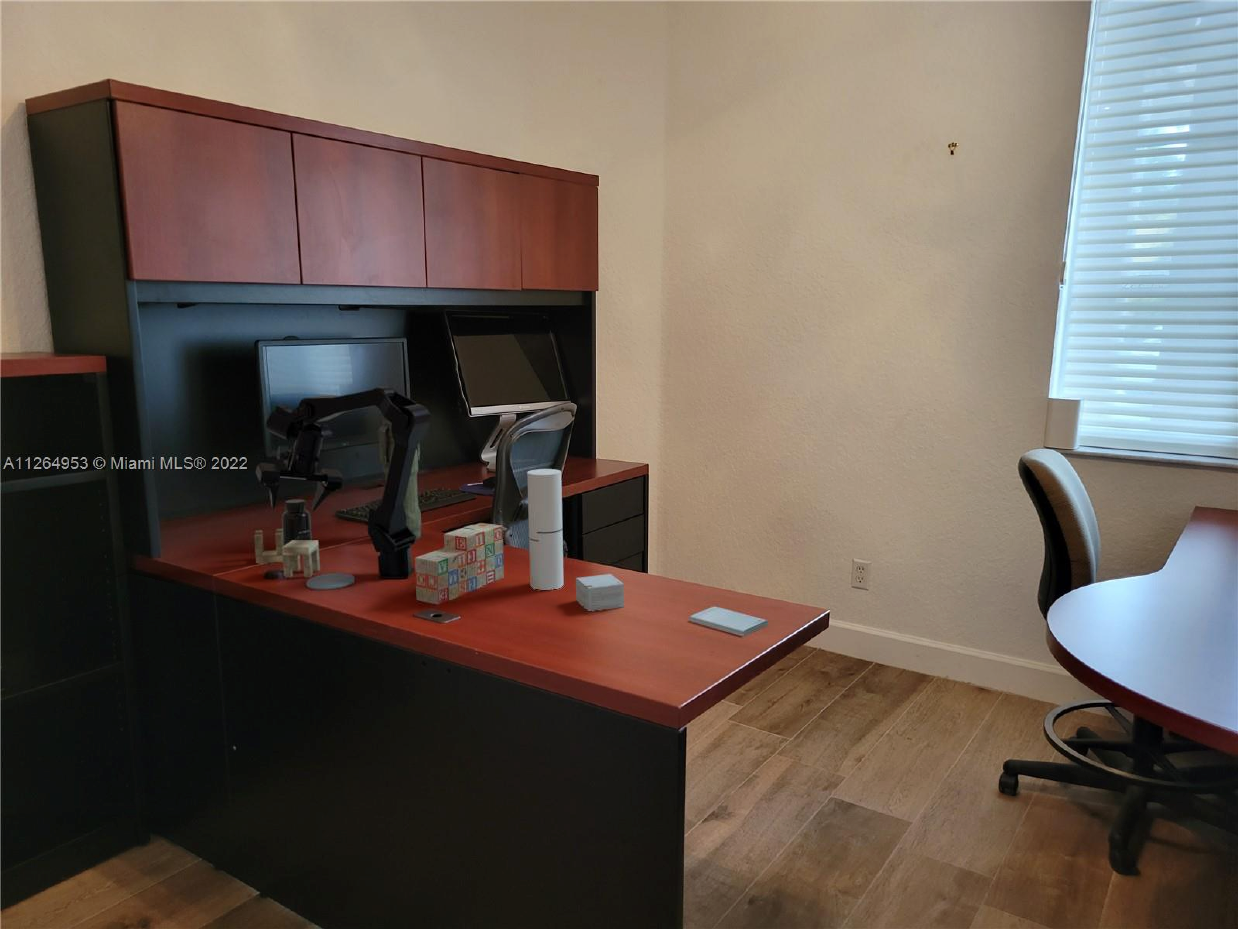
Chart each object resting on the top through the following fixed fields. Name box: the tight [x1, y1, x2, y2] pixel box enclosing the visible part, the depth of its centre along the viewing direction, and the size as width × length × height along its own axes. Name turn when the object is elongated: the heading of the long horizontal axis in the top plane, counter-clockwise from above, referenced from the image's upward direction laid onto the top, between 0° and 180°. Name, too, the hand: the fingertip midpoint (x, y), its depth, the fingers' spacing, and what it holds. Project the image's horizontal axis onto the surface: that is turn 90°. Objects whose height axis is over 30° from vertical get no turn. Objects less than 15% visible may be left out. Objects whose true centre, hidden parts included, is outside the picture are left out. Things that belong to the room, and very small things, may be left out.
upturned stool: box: [253, 528, 284, 565], centre depth 213 cm, size 6×6×7 cm
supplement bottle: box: [281, 498, 313, 546], centre depth 224 cm, size 7×7×12 cm
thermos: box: [377, 415, 422, 541], centre depth 231 cm, size 9×12×35 cm
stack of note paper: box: [575, 573, 625, 612], centre depth 179 cm, size 8×8×5 cm
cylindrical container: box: [526, 468, 564, 591], centre depth 190 cm, size 7×7×25 cm
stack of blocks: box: [414, 522, 505, 605], centre depth 189 cm, size 21×6×12 cm, turn 149°
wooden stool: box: [282, 539, 321, 578], centre depth 202 cm, size 6×6×7 cm
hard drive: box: [689, 606, 769, 637], centre depth 168 cm, size 2×8×12 cm
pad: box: [306, 572, 355, 591], centre depth 195 cm, size 10×10×1 cm
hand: (293, 509), depth 208 cm, fingers open, 9 cm apart
